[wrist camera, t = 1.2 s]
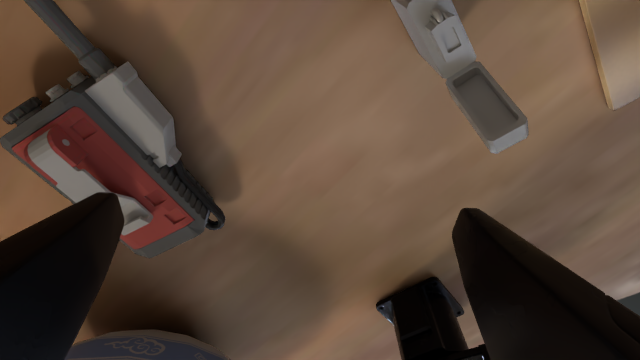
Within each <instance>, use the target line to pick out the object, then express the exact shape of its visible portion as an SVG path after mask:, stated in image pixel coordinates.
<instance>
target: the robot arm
mask: <svg viewBox="0 0 640 360" xmlns="http://www.w3.org/2000/svg"><path fill="white" fill-rule="evenodd" d="M124 222H125V220H124V215H123V212H122V208H121V205H120V202H119V199H118V196H117V195H116V194H115V193H110V192H97V193H95V194H93V195H91V196H89V197H87V198H85V199H83V200H81V201H79V202H77V203H75V204H73V205H71V206H69V207H67V208H65V209H63V210H61V211H59V212H57V213H56V214H54V215H52V216H50V217H48V218H46V219H44V220H42V221H40V222H38V223H36V224H34V225H32V226H30V227H28V228H26V229H24V230H22V231H20V232H18V233H16V234H14V235H12V236H10V237H8V238H7V239H5V240H3V241H1V242H0V360H65V358H66V356H67V354H68V352H69V350H70V348H71V346H72V344H73V342H74V340H75V338H76V336H77V334H78V332H79V330H80V328H81V326H82V324H83V322H84V320H85V318H86V316H87V314H88V312H89V310H90V308H91V306H92V304H93V302H94V300H95V298H96V296H97V294H98V292H99V290H100V288H101V286H102V284H103V281H104V279H105V277H106V274H107V272H108V269H109V266H110V264H111V261H112V258H113V255H114V253H115V250H116V247H117V244H118V241H119V239H120V236H121V233H122V230H123V227H124ZM452 239H453V244H454V248H455V252H456V256H457V260H458V264H459V268H460V272H461V276H462V280H463V284H464V288H465V291H466V294H467V297H468V299H469V302H470V305H471V307H472V310H473V313H474V316H475V318H476V321H477V324H478V326H479V329H480V332H481V335H482V337H483V340H484V343H485V344H482V345H478V346H479V347H475V348H471V349H469V348H468V346H467V343H466V341H465V338H464V336H463V333H462V331H461V328H460V326H459V323H458V321H457V318H456V317H458V316H461V315H463V314H464V310H463V308H462V306H461V305H460V304H459V303H458V302H457V301H456V299H455V298H454V297H453V296H452V295H451V293H450V292H449V291H448V290H447V289H446V287H445V286H444V285H443V284H442V283H441V281H440V280H439V279H438V278H437V277H432V278H429V279H427V280H425V281H423V282H420V283H418V284H416V285H414V286H412V287H410V288H407V289H405V290H403V291H401V292H399V293H397V294H394V295H392V296H390V297H388V298H386V299H384V300H381V301H379V302H378V303H377V304H376V308H377V310H378V311H379V312H380V313H381V314H382V315H383V316H384V317H385V318H387V319H388V320H389V321H390V322H391V323H392V324H393V325H394V328H395V333H396V337H397V341H398V346H399V350H400V355H401V359H402V360H640V316H639V315H637V314H636V313H634V312H633V311H631V310H630V309H628V308H626V307H625V306H623V305H622V304H620V303H619V302H617V301H616V300H615V299H613V298H612V297H610V296H608V295H606V296H605V293H604V292H602V291H601V290H599V289H598V288H596V287H595V286H593V285H592V284H590V283H589V282H587V281H586V280H584V279H583V278H581V277H580V276H578V275H577V274H575V273H574V272H572V271H571V270H570V269H568V268H567V267H565V266H564V265H562V264H561V263H559V262H558V261H556V260H555V259H553V258H552V257H550V256H549V255H547V254H546V253H544V252H543V251H541V250H540V249H538V248H537V247H535V246H534V245H532V244H531V243H529V242H528V241H526V240H525V239H523V238H522V237H520V236H519V235H517V234H516V233H514V232H513V231H511V230H510V229H508V228H507V227H505V226H504V225H502V224H501V223H499V222H498V221H496V220H495V219H493V218H492V217H490V216H489V215H487V214H486V213H484V212H483V211H481V210H480V209H477V208H463V209H462V210H461V211H460V213H459V215H458V218H457V220H456V223H455V225H454V228H453V231H452Z"/></svg>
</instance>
